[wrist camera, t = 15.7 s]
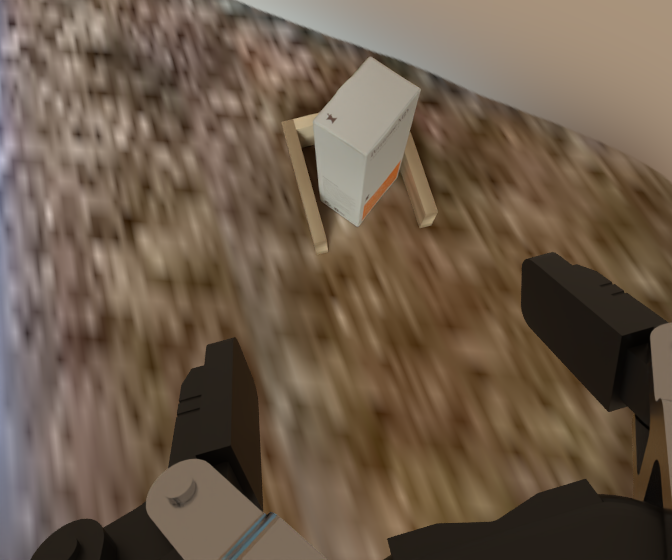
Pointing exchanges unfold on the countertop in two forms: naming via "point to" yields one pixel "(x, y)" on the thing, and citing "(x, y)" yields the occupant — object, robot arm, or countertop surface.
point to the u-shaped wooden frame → (297, 138)
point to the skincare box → (363, 139)
